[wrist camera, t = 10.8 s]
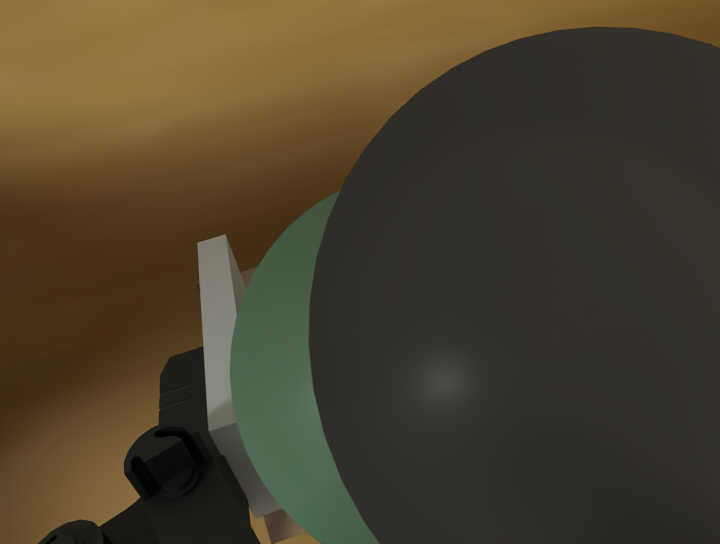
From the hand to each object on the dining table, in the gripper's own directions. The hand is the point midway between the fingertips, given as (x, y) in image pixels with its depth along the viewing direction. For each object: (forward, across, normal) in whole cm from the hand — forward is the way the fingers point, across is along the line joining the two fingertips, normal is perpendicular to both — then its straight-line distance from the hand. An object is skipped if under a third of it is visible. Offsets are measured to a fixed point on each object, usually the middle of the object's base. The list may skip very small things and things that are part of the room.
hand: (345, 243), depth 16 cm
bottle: (+2, 0, -7) cm, 8 cm away
